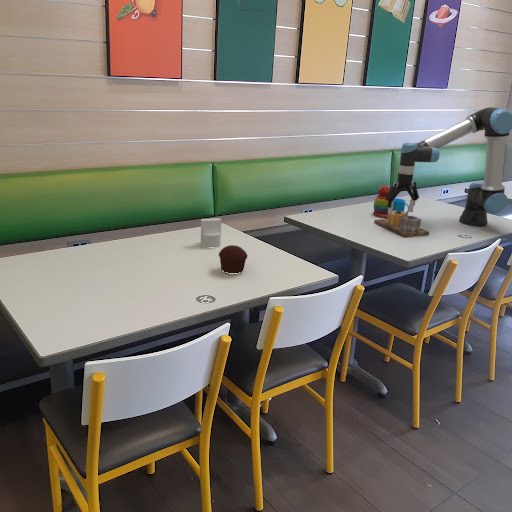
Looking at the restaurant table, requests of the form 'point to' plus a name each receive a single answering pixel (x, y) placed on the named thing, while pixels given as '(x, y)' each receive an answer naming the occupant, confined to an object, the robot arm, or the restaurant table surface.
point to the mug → (399, 205)
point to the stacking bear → (381, 203)
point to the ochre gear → (395, 218)
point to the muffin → (232, 259)
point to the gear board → (398, 231)
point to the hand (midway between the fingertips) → (400, 212)
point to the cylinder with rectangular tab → (211, 232)
